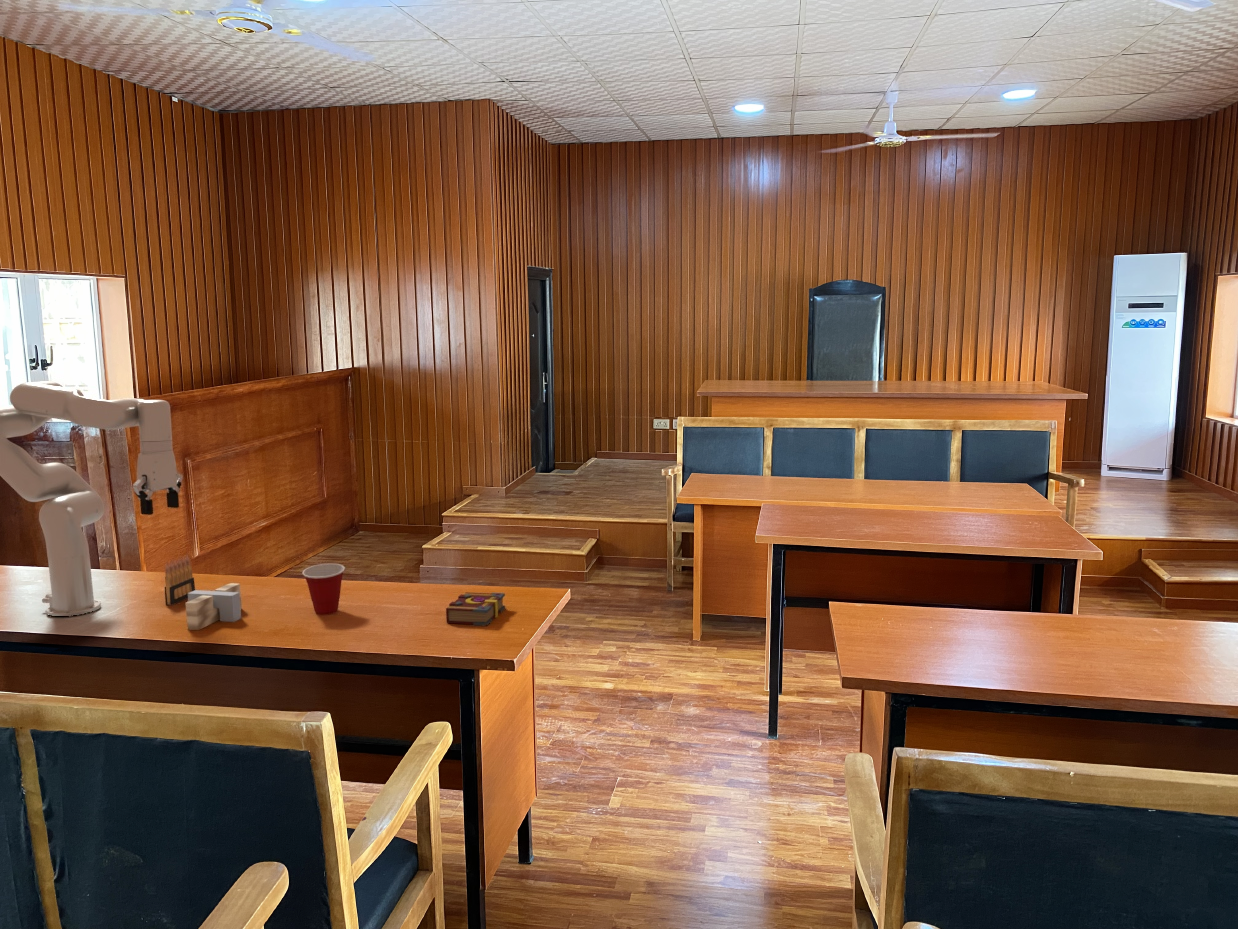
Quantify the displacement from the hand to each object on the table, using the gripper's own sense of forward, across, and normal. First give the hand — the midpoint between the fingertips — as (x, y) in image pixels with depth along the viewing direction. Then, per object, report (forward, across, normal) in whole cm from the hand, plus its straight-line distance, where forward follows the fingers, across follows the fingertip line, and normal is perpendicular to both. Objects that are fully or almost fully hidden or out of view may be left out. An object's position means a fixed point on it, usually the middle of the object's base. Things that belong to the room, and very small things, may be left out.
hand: (160, 510), depth 232 cm
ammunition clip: (+28, -10, -4) cm, 30 cm away
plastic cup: (+27, -7, +43) cm, 51 cm away
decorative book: (+26, -11, +84) cm, 89 cm away
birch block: (+27, +4, +18) cm, 33 cm away
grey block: (+27, +4, +18) cm, 33 cm away
